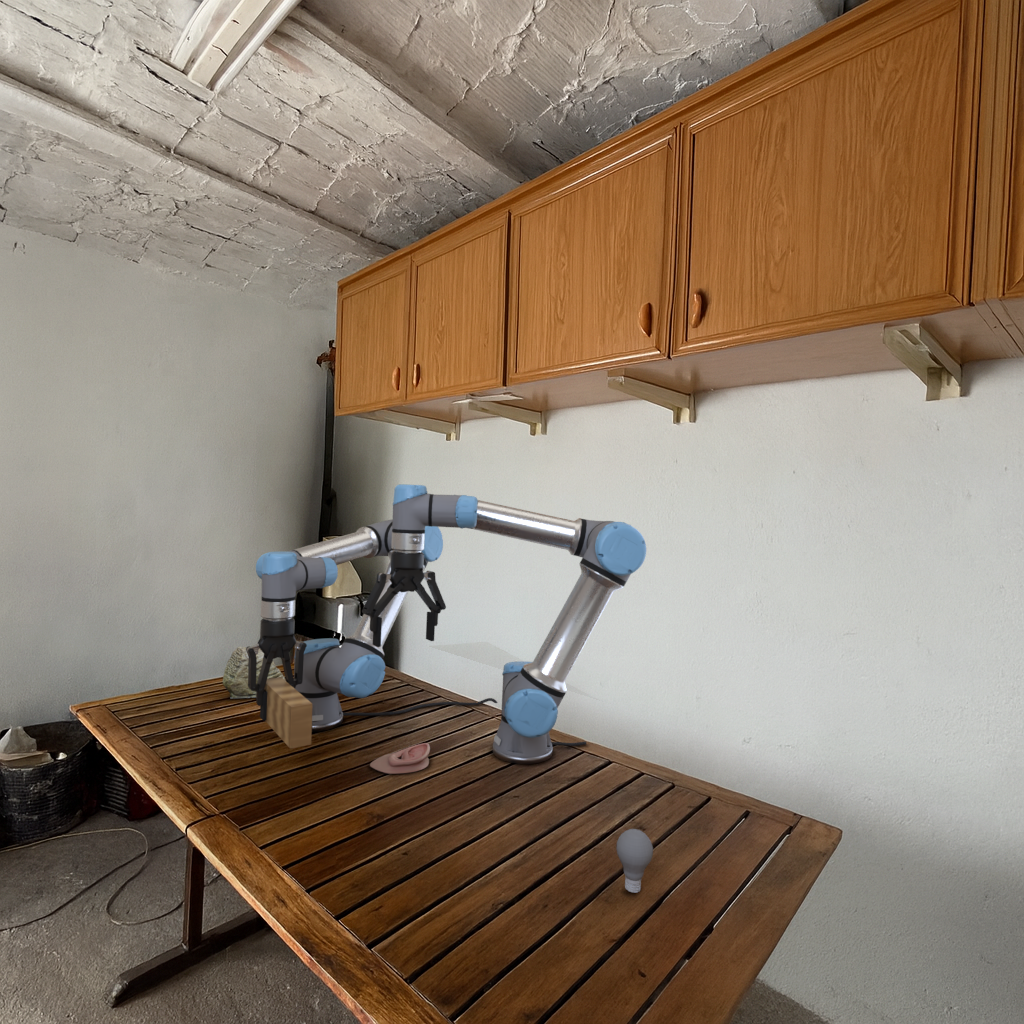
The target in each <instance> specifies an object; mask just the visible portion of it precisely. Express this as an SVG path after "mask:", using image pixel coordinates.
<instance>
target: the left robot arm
mask: <svg viewBox="0 0 1024 1024" xmlns="http://www.w3.org/2000/svg"><path fill="white" fill-rule="evenodd" d="M392 521H393V518H391V519H386V520H382V521H379V522H375V523H371V524H368V525H365V526H361V527H359V528H358V529H356V531H355V532H351V533H348V534H345V535H341V536H338V537H334V538H331V539H327V540H323V541H320V542H316V543H311V544H308V545H305V546H302V547H298V548H294V549H291V550H286V551H268V552H266V553H263V554H261V555H260V556H259V557H258V559H257V561H256V563H255V572H256V575H257V576H258V578H259V579H261V601H260V602H261V603H260V617H261V620H260V628H259V629H260V631H259V638H258V639H259V640H258V641H257V643H256V644H254V645H252V646H250V645H248V646H246V647H247V648H246V651H247V654H248V656H249V658H248V687H249V688H250V689H251V690H252V691H256V697H255V698H256V699H255V703H256V705H257V706H258V707H259V708H260V709H259V718H260V719H261V721H263V722H265V720H267V691H266V690H265V685H266V681H267V677H268V674H269V670H270V666H271V663H272V661H274V659H277V658H279V659H280V660H281V663H282V668H283V672H284V677H285V680H286V682H287V683H289V684H290V685H291V686H292V687H293V688H295V689H296V690H297V691H298V692H299V693H300V694H302V695H303V696H304V697H305V698H306V699H307V700H309V701H310V702H311V703H312V733H316V732H325V731H329V730H332V729H335V728H337V727H339V726H340V725H342V723H343V722H344V717H352V716H353V717H354V716H355V717H356V716H357V717H358V716H359V717H378V716H379V717H381V716H394V715H400V714H405V713H408V712H411V711H414V710H418V709H422V708H427V707H434V706H448V705H449V706H450V705H451V706H479V705H482V704H484V703H487V702H493V703H494V704H498V701H497V700H496V698H493V697H488V698H484V699H482V700H479V701H474V702H467V701H466V702H463V701H437V702H430V703H423V704H418V705H414V706H412V707H407V708H404V709H401V710H395V711H386V712H385V711H384V712H383V711H381V712H343V709H342V706H341V702H340V699H339V695H338V694H340V695H344V696H345V697H347V698H355V699H365V698H367V697H370V696H372V695H373V694H374V693H376V691H377V690H378V689H379V688H380V686H381V685H382V683H383V681H384V679H385V675H386V671H385V669H386V663H385V660H384V658H385V652H384V649H383V647H384V645H385V642H386V640H387V638H388V637H389V634H390V632H391V630H392V628H393V626H394V623H395V621H396V619H397V617H398V615H399V613H400V611H401V609H402V606H403V604H404V602H405V600H406V599H407V596H408V594H409V592H410V591H407V592H400V591H399V592H398V594H396V595H395V596H394V597H393V598H392V600H391V601H390V602H389V604H388V605H387V606H386V607H385V609H384V610H383V611H382V613H381V614H380V615H379V617H381V618H382V628H381V647H376V646H374V645H373V632H372V631H370V616H368V615H366V614H362V616H361V619H360V621H359V622H358V624H357V627H356V628H355V630H354V632H353V634H352V635H350V636H346V637H345V638H344V640H343V642H342V643H340V641H339V639H338V638H335V637H334V638H332V637H329V638H315V639H308V640H304V641H303V640H297V639H296V637H295V626H296V625H295V622H296V621H295V619H294V617H295V616H296V596H297V591H303V590H313V589H314V590H315V589H323V588H327V587H330V586H333V585H334V584H335V583H336V581H337V579H338V573H339V572H338V571H339V569H338V565H341V564H344V563H348V562H352V561H354V560H357V559H360V558H365V559H371V558H374V557H388V559H389V563H388V565H387V566H386V569H385V571H384V572H383V573H384V574H390V572H391V553H392V552H394V550H393V549H392V548H391V545H392ZM443 549H444V540H443V533H442V531H441V529H440V527H437V526H425V541H424V550H422V551H421V552H422V553H423V554H424V567H423V572H424V571H426V568H427V566H428V563H432V562H433V563H434V562H435V561H437V560H438V559H440V557H441V555H442V552H443ZM390 584H391V581H390V580H388V582H387V583H386V584H385V587H384V589H383V591H382V593H381V595H380V597H379V599H378V601H379V600H380V599H381V597H382V596H383V595H384V594H385V592H386V591H387V588H388V587H389V586H390ZM378 601H377V602H378ZM376 604H377V603H376ZM293 648H294V649H295V652H294V653H295V654H294V656H293V659H294V661H293V662H294V663H293V664H294V668H292V665H291V657H290V652H291V651H292V649H293ZM259 649H261V651H262V652H263V653H264V656H263V663H262V667H261V670H260V674H259V678H258V682H257V684H256V672H257V658H256V655H257V654H258V650H259ZM476 702H478V703H476Z"/></svg>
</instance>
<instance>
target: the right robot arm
mask: <svg viewBox="0 0 1024 1024" xmlns="http://www.w3.org/2000/svg"><path fill="white" fill-rule="evenodd" d="M392 519H393V521H392V545H391V548H392V549H393V550H394V552H392V553H391V572H390V574H384V573H385V572H377V574H376V579H375V580H376V581H375V583H374V585H373V588H372V589H371V592H370V593H369V596H368V598H367V599H366V602H365V603H364V606H363V607H362V610H361V613H362V615H364V614H366V615H368V616H370V631H372V632H373V645H374V646H376V647H381V628H382V618H381V617H379V615H380V614H381V613H382V611H383V610H384V609H385V607H386V606H387V605H388V604H389V602H390V601H391V600H392V598H393V597H394V596H395V595H396V594H398V592H399V591H400V592H407V591H409V592H411V593H412V592H413V593H414V592H416V593H417V595H419V596H418V597H419V598H420V599H421V600H422V601H423V603H424V604H425V606H426V607H427V608H428V609H429V611H426V626H425V640H428V641H430V642H434V641H435V630H436V627H437V626H438V624H439V614H441V612H442V611H445V610H446V609H447V606H446V605H447V604H446V603H445V601H444V598H443V595H442V593H441V590H440V588H439V586H438V583H437V581H436V580H437V579H436V572H435V571H431V570H425V572H424V571H423V567H424V554H423V553H422V552H421V551H422V550H424V541H425V526H437V527H438V528H457V529H458V528H459V529H468V530H469V529H470V530H475V531H479V532H483V533H488V534H494V535H497V536H502V537H507V538H511V539H516V540H519V541H524V542H529V543H534V544H539V545H542V546H547V547H552V548H555V549H556V548H557V549H561V550H565V551H568V552H569V554H570V555H571V556H574V557H579V558H581V559H580V562H579V568H580V572H581V573H580V575H579V577H578V579H577V580H576V582H575V584H574V586H573V588H572V589H571V591H570V593H569V595H568V597H567V598H566V601H565V603H564V604H563V606H562V608H561V610H560V612H559V613H558V615H557V617H556V619H555V621H554V622H553V624H552V626H551V628H550V630H549V631H548V633H547V635H546V637H545V639H544V641H543V643H542V645H541V646H540V648H539V650H538V652H537V654H536V655H535V657H534V659H533V661H522V660H521V661H519V660H518V661H508V662H506V663H505V664H504V665H503V670H502V674H501V675H502V689H501V691H502V692H501V693H502V694H501V714H500V715H501V717H500V723H499V726H498V728H497V731H496V734H495V735H494V737H493V742H492V753H493V755H494V756H495V757H496V758H498V759H500V760H502V761H504V762H508V763H510V764H511V763H512V764H520V765H534V764H539V763H543V762H546V761H548V760H549V759H551V758H552V756H553V746H560V747H578V746H580V747H581V746H586V745H587V741H579V742H561V741H552V739H551V735H550V731H552V729H553V728H554V727H555V725H556V723H557V720H558V715H559V710H558V708H559V706H560V705H561V702H562V701H563V699H564V697H565V695H567V694H566V693H567V691H568V689H567V685H566V679H567V678H568V676H569V674H570V672H571V670H572V669H573V667H574V665H575V663H576V661H577V660H578V658H579V656H580V655H581V652H582V651H583V648H584V647H585V645H586V643H587V641H588V639H589V638H590V636H591V634H592V632H593V631H594V628H595V627H596V625H597V623H598V622H599V620H600V618H601V616H602V614H603V612H604V610H605V609H606V607H607V604H608V603H609V601H610V600H611V597H612V596H613V593H614V592H615V591H618V590H621V589H623V588H625V586H626V584H627V582H628V580H629V579H630V577H631V575H632V574H633V573H635V572H637V571H638V570H639V569H640V568H641V567H642V565H643V564H644V562H645V559H646V557H647V544H646V541H645V538H644V536H643V534H642V533H641V532H640V531H639V530H638V529H637V528H636V527H634V526H632V524H628V523H626V522H624V521H614V520H593V519H586V518H580V517H578V518H576V519H575V520H572V519H568V518H562V517H558V516H553V515H548V514H543V513H539V512H535V511H531V510H525V509H521V508H517V507H512V506H508V505H503V504H498V503H494V502H489V501H484V500H479V499H478V498H477V496H475V495H474V496H473V495H468V494H434V493H428V488H427V486H426V485H423V484H404V483H403V484H402V483H401V484H399V483H398V484H397V485H395V487H394V491H393V501H392ZM388 580H390V581H391V584H390V586H389V587H388V588H387V591H386V592H385V594H384V595H383V596H382V597H381V599H380V600H379V601H378V599H379V597H380V595H381V593H382V591H383V589H384V587H385V584H386V583H387V582H388ZM423 580H425V581H426V584H427V586H428V589H429V592H430V594H431V596H432V597H431V596H430V595H429V593H428V592H427V590H426V588H425V587H424V585H423V584H422V582H423ZM377 601H378V602H377ZM376 603H377V604H376Z"/></svg>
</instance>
